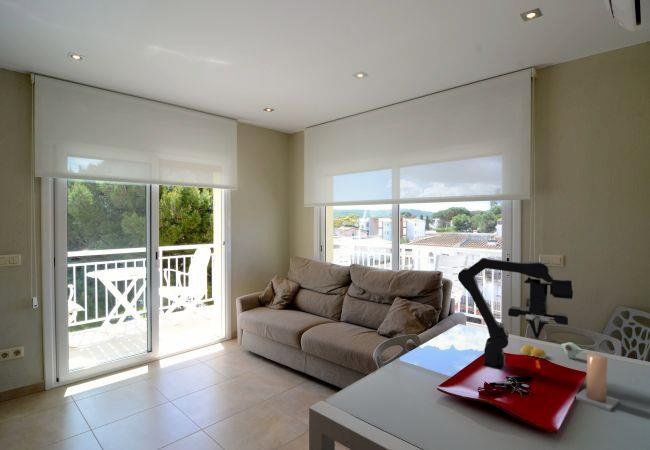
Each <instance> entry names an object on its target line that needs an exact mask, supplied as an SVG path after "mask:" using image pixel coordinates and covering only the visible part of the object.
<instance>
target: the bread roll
mask: <svg viewBox="0 0 650 450" xmlns="http://www.w3.org/2000/svg"><path fill="white" fill-rule="evenodd" d="M520 354H522V355H523V356H524V355H528V356H535V357H539V358H543V359H542V360H544V359H546V357H547V353H546V352H545V350H544V349H541V348H539V347H534V346H533V345H530V344H525V345H524V346H522V347H521V348H520Z"/></svg>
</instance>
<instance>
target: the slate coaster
mask: <svg viewBox="0 0 650 450" xmlns="http://www.w3.org/2000/svg"><path fill="white" fill-rule="evenodd" d="M575 396H576V399H575V400H576V401H580V402H583V403H585V404H588V405H590V406H594V407H596V408H599V409H602V410H605V411H608V412H611V411H612V410H613V409H614V408H615V407H616V406H617V405H618V404H619V403H620V399H617V398H614V397H611V396H608V395H606V401H605V402H598V401H594V400H592V399H589V398H588V397H587V396H586V388H584V389H582V390H581V391H579V392H578V393H577V394H575Z"/></svg>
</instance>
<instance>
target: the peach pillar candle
mask: <svg viewBox="0 0 650 450" xmlns="http://www.w3.org/2000/svg"><path fill="white" fill-rule="evenodd" d="M586 359H587V360H586V384H585V385H586V386H585V387H586V388H585V389H586V396H587V397H588V398H589V399H592V400H594V401H598V402H605V401H606V396H607V389H608V388H607V386H608V385H607V383H608V382H607V381H608V357H606V356H604V355H601V354H598V353H597V354H596V353H588V354H587V356H586Z"/></svg>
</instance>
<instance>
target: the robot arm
mask: <svg viewBox="0 0 650 450" xmlns="http://www.w3.org/2000/svg"><path fill="white" fill-rule="evenodd" d="M486 269H487V270H497V271H504V272H511V273H516V274H517V273H518V274H522V275H524V276H525V275H526V276H527V278H525V279H524V280H523V283H524V284H529V291H528V292H529V293H528V295H529V296H528V297H529V298H526V301H525V302H526V303H525V307H526V308H528V310H525V309H523V308H522V307H519V306H515V305H514V306H513V305H512V306H510V307H509V308H508V309H507V310H508V313H507V315H508V316H510V317H515V318H518V317H519V316H525V320H524V321H526V322H528V324H529V325H530V328H531V329H532V333H533V334H534V337H535V339H539V337H540V335H541V333H542V329H543V328H544V326H545V325H549V323H550V320H553V321H554V322H555V323H556V324H560V325H565V326H568V325H569V315H568V314H567V313H561V312H554V314H551V313H548V311H549V310H548V309H549V306H548V293H549V295H551V296H552V298H554V299H563V300H573V296H574V294H573V293H574V291H573V285H572V284H573V283H572V279H571V280H570V279H557V278H556V279H555V278H553V277H554V276H551V275H550V274H549V268H548V266H547V265H546V264H545V263H544V262H541V261H523V262H522V261H521V262H520V261H509V260H501V259H495V258H487V257H481V258H480V259H478V261H477V262H475V263H474V264H473V265H471V266H470V267H467V268H463V269H462V270H460V271H459V272H458V273H457V274H458V275H457V279H458V281H459V282H460V284H461V285H462V286H463V288H464V289H466V291H467V292H468V293H469V295H470V296H471V298H472V300H473V302H474V304H475V306H476V307H477V310H478V311H479V313H480V315H481V318H482V319H483V320H484V321H483V322H484V323H485V325H486V327H487V331H488V336H489V337H488V338H487V339H486V341H485V345H484V350H483V351H484V353H483V354H484V355H483V356H484V357H483V358H484V359H483V363H482V365H483V366H485V367H488V368H493V369H497V370H502V369H503V367H504V366H505V365H506V354H505V353H504V349H506V348H507V346H508V345H509V335H510V334H509V331H507V329H506V327H505V324H504V323H501V324H500V323H499V322H498V321H497V319H496V318H495V316H494V313H493V312H492V310H491V308H490V306H489V304H488V303H487V301H486V299H485V297H484V295H483V293H482V292H481V290H480V287H479V284H478V280H477V277H476V276H477V275H479V274H480V273H481V272H482V271H484V270H486ZM531 277H532V278H531ZM541 280H543V281H541ZM537 318H538V319H539V321H538V325H537Z"/></svg>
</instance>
